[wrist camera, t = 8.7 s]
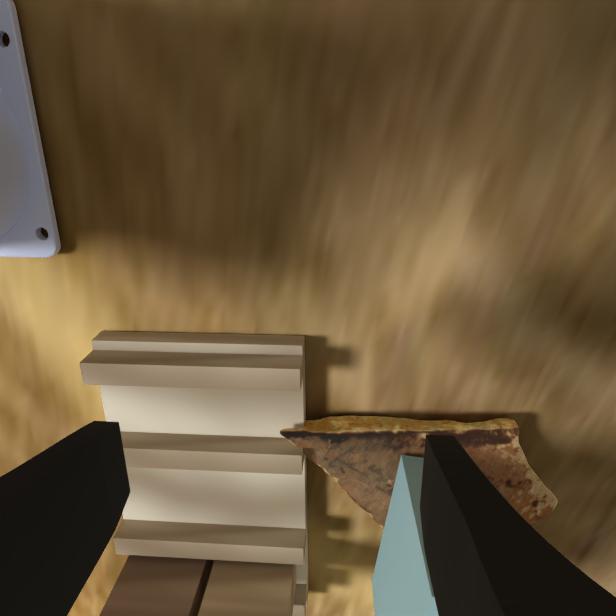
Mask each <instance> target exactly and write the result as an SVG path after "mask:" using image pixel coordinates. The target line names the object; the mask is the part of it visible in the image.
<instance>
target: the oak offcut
mask: <svg viewBox="0 0 616 616" xmlns="http://www.w3.org/2000/svg"><path fill="white" fill-rule="evenodd" d="M296 579H297V578H296V565H295V564H277V563H260V562H243V561H226V560H214V564H213V567H212V570H211V574H210V577H209V580H208V584H207V587H206V590H205V593H204V597H203V600H202V603H201V607H200V610H199V613H198V616H292V613H293V604H294V596H295V588H296Z"/></svg>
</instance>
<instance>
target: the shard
mask: <svg viewBox="0 0 616 616" xmlns="http://www.w3.org/2000/svg"><path fill="white" fill-rule="evenodd" d="M280 434H281V435H282V436H283V437H285V438H286V439H287V440H289V441H290V442H291V443H293V444H294V445H295V446H296V447H303V454H304V455H305V456H306V457H307V458H308V459H310V460H311V461H312V462H314V463H315V464H316V465H318V466H320V467H321V468H323V469H324V471H325V472H326V473H327V474H329V475H330V476H331V477H332V478H333V479H334V480H335V481H336V482H337V483H338V484H339V485H340V486H341V487H342V488H343V489H344V490H345V491H346V493H347V494H348V495H349V496H350V497H351V498H352V500H353V501H354V502H355V503H356V504H358V505H359V506H360V507H361V508H362V509H364V510H365V511H366V512H367V513H368V514H369V515H371V517H372V518H373V519H374V521H375V522H376V523H378V524H379V525H380V526H381V527H382V528H383V529H384V526H385V522H386V518H387V513H388V509H389V505H390V501H391V496H392V492H393V488H394V483H395V479H396V475H397V470H398V466H399V462H400V458H401V455H406V456H414V457H421V458H424V450H425V438H426V434H427V435H452V436H454V437H455V438H456V439H457V440H458V441H459V443H460V444H461V445H462V447H463V448H464V449H465V450H466V452H467V453H468V454H469V456H470V457H471V458H472V460H473V461H474V462H475V463H476V465H477V466H478V467H479V468H480V470H481V471H482V472H483V473H484V475H485V476H486V477H487V478H488V479H489V481H490V482H491V483H492V484H493V485H494V486H495V487H496V489H497V490H498V491H499V492H500V493H501V494H502V495H503V497H504V498H505V499H506V500H507V501H508V502H509V503H510V504H511V506H512V507H513V508H514V509H515V510H516V511H517V512H518V513H519V514H520V515H521V516H522V517H523V518H524V519H525V520H526V521H527V522H528V523H529V524H532V523H534V522H536V521H538V520H540V519H542V518H544V517H545V516H547V515H548V514H550V513H551V512H553V511H554V508H555V506H556V505H557V503H558V500H557V499H556V497H555V496H554V495H553V493H552V492H551V491H550V490H549V489H548V488H547V487H546V486H545V485H544V484H543V483H542V481H541V480H540V479H539V477H538V476H537V475H536V474H535V472H534V471H533V470H532V468H531V467H530V466H529V464H528V462H527V459H526V457H525V455H524V453H523V451H522V448H521V446H520V444H519V439H518V436H519V426H518V424H517V423H516V422H515V420H511V419H509V418H495V419H493V420H488V421H482V422H474V423H463V422H457V421H450V420H426V421H425V420H415V419H408V418H394V417H379V416H339V417H326V418H323V419H318V420H305V423H304V427H301V428H287V429H283V430H280Z"/></svg>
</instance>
